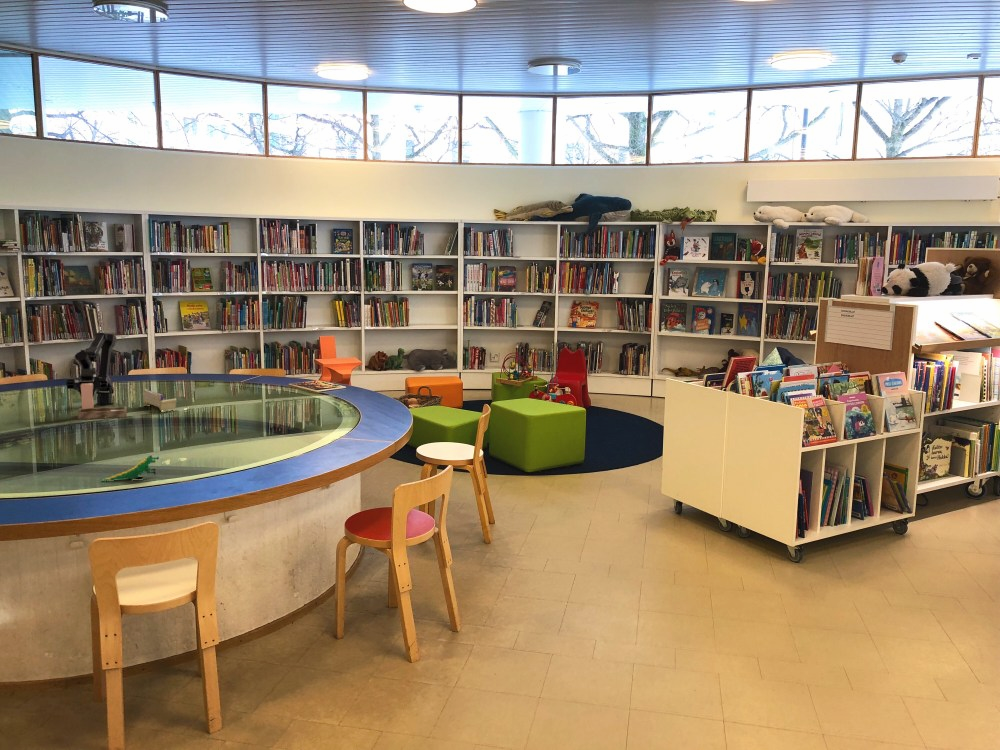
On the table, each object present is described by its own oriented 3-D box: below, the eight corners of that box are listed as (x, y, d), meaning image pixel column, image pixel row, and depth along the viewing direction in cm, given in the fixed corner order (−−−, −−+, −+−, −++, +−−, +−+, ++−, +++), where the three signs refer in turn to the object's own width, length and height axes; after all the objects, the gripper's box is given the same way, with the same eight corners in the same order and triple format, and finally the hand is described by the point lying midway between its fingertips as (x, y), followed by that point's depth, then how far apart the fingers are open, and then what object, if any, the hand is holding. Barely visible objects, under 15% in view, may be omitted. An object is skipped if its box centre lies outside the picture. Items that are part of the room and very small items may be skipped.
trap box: (78, 419, 398) (77, 412, 398) (79, 415, 407) (79, 408, 407) (126, 417, 407) (126, 410, 407) (126, 413, 416) (126, 406, 416)
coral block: (82, 408, 400) (80, 385, 398) (82, 406, 405) (81, 383, 403) (93, 408, 403) (92, 384, 401) (93, 406, 407) (92, 383, 405)
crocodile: (101, 483, 298) (100, 460, 297) (102, 479, 304) (101, 457, 302) (159, 479, 306) (158, 457, 305) (159, 475, 311) (158, 453, 310)
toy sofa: (177, 411, 427) (176, 392, 425) (161, 413, 420) (160, 394, 419) (158, 405, 440) (158, 386, 439) (143, 407, 434) (142, 388, 432)
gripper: (65, 362, 400) (64, 388, 392) (106, 361, 408) (107, 386, 399) (67, 375, 408) (66, 400, 400) (107, 374, 416) (108, 399, 408)
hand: (87, 396), depth 402 cm, fingers closed on coral block, 5 cm apart
